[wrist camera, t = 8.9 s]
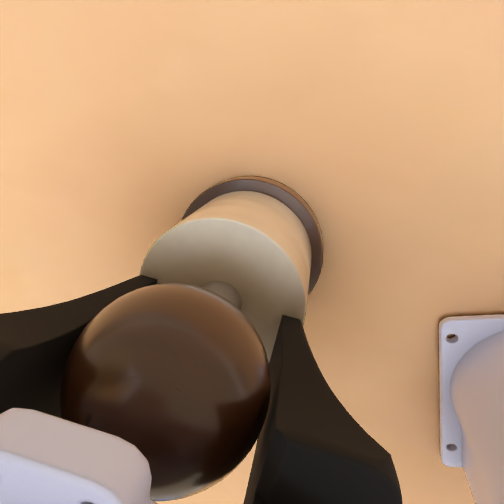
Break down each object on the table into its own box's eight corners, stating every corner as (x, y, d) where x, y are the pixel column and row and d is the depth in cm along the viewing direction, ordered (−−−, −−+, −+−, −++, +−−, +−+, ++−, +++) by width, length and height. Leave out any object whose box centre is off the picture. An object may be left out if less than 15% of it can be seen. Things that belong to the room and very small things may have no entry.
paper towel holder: (302, 326, 20) (264, 639, 8) (174, 290, 21) (-37, 528, 9) (341, 196, 17) (373, 367, 5) (194, 160, 18) (-63, 241, 6)
